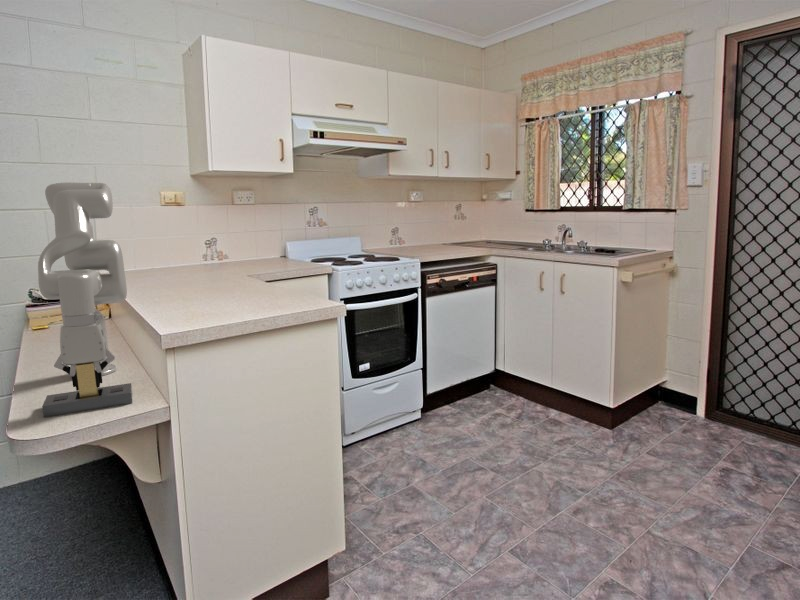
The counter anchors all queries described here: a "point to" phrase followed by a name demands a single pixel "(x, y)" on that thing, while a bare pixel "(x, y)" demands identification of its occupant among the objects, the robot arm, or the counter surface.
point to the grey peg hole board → (87, 400)
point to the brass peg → (86, 380)
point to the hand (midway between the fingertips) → (88, 386)
